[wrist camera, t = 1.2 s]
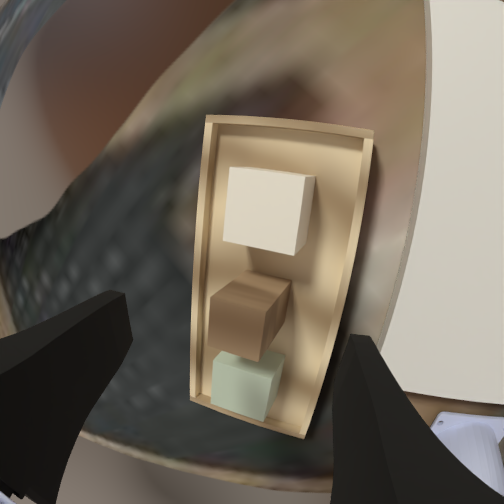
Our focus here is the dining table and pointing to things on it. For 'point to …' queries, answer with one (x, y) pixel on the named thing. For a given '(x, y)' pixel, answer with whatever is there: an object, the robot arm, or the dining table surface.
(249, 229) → the off-white square block
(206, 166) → the tan open box
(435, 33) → the dock
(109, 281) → the dining table surface
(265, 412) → the pale green block
